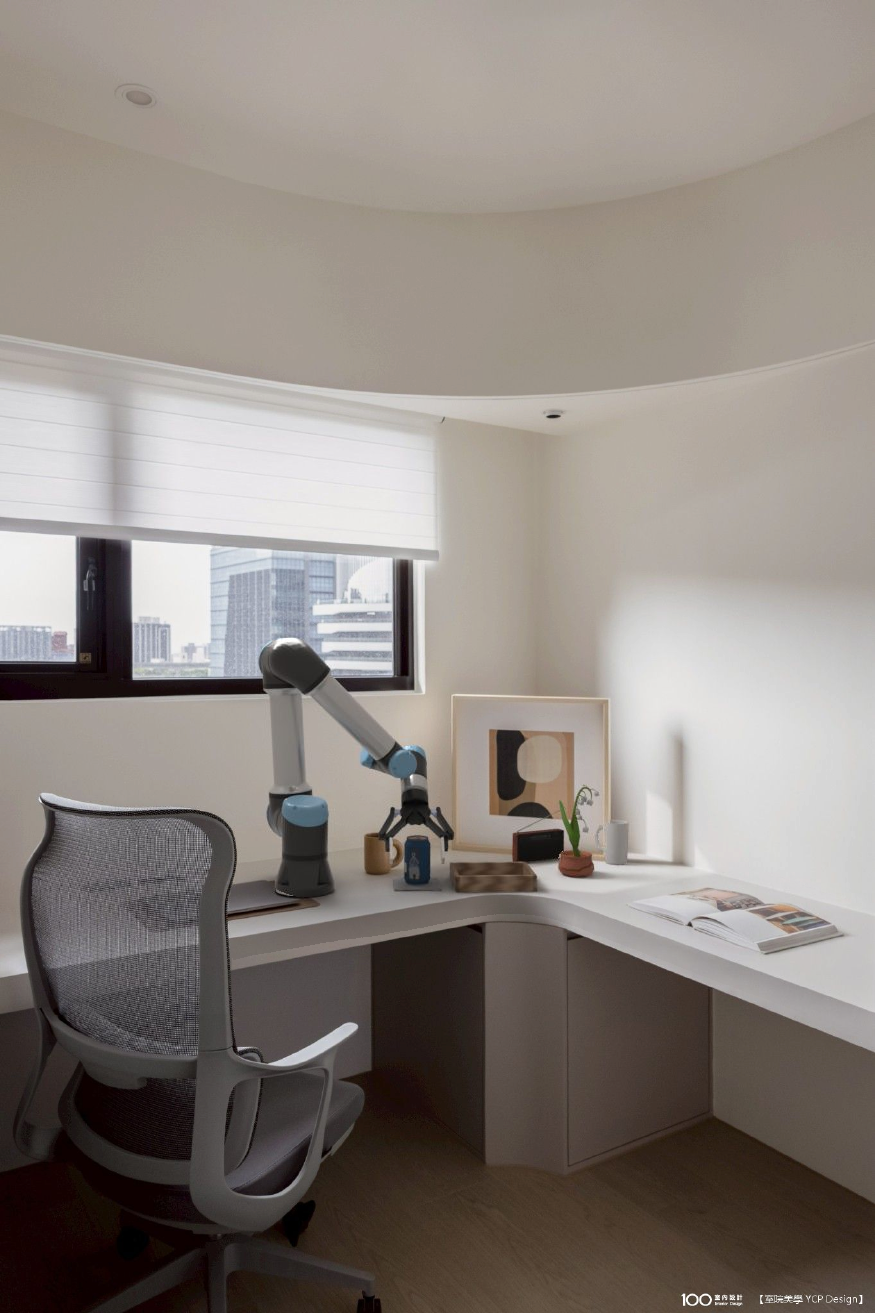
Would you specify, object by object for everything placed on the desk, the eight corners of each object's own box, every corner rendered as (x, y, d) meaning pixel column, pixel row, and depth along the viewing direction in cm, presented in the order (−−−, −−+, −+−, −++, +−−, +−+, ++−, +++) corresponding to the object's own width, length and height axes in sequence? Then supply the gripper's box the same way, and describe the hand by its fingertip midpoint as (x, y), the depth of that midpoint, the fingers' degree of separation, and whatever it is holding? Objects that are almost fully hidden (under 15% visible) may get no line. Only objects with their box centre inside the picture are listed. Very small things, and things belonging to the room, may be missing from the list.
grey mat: (394, 891, 233) (394, 889, 233) (392, 879, 245) (392, 877, 245) (441, 890, 234) (441, 888, 234) (437, 879, 246) (437, 877, 246)
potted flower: (589, 868, 260) (590, 781, 260) (607, 876, 250) (607, 785, 250) (551, 871, 256) (552, 782, 256) (567, 879, 246) (568, 787, 246)
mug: (631, 861, 269) (631, 821, 269) (624, 866, 263) (624, 824, 263) (598, 857, 273) (598, 818, 273) (590, 862, 268) (591, 821, 268)
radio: (517, 864, 265) (518, 812, 265) (512, 861, 267) (512, 811, 267) (570, 858, 273) (570, 808, 273) (564, 856, 276) (564, 806, 276)
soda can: (425, 878, 244) (425, 834, 244) (433, 885, 237) (434, 839, 237) (400, 880, 241) (401, 835, 241) (408, 887, 235) (408, 840, 235)
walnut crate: (455, 892, 232) (455, 876, 232) (449, 877, 248) (449, 862, 248) (536, 891, 234) (536, 875, 234) (525, 876, 250) (525, 861, 250)
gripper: (458, 802, 256) (463, 868, 241) (369, 803, 254) (369, 869, 239) (460, 786, 250) (466, 853, 235) (369, 786, 248) (369, 853, 233)
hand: (417, 861), depth 237 cm, fingers open, 13 cm apart
